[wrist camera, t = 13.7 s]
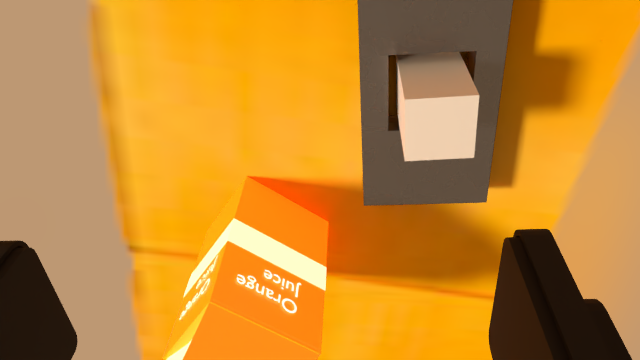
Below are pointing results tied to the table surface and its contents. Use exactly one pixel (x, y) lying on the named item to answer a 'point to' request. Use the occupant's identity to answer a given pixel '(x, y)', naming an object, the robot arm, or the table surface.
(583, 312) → the robot arm
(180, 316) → the orange juice
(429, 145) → the square peg
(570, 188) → the table surface
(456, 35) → the grey peg hole board
